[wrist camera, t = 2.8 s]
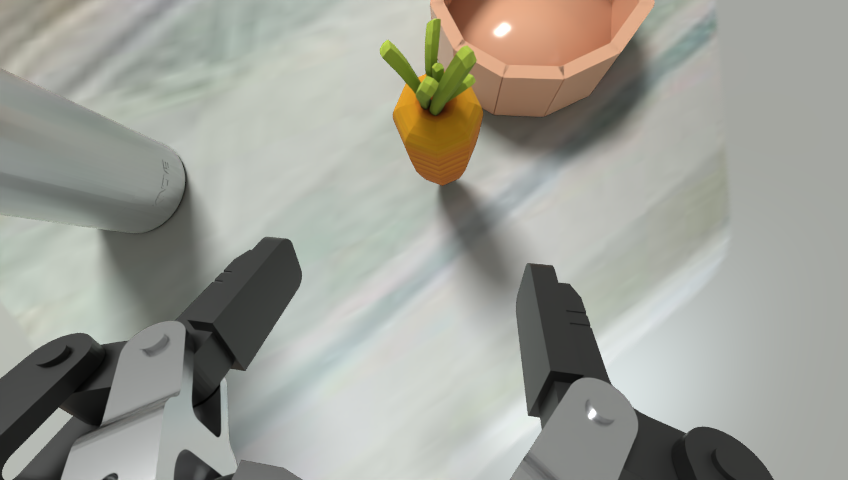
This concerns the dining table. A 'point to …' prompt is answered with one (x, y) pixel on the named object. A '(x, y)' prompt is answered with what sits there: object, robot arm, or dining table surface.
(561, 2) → the terracotta bowl
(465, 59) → the carrot
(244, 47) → the dining table surface
